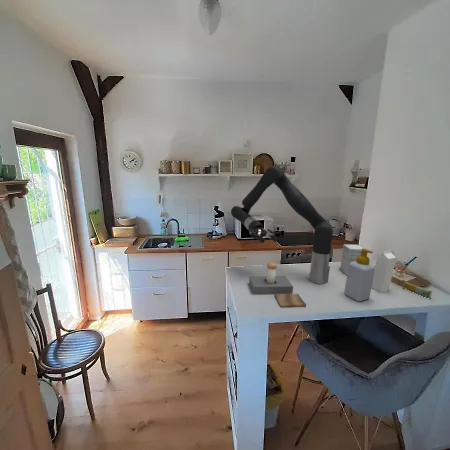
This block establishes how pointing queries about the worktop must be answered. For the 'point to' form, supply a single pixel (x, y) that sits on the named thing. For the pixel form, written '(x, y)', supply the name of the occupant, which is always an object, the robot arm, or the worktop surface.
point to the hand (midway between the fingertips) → (270, 241)
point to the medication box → (418, 290)
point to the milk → (383, 271)
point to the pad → (289, 300)
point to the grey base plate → (270, 285)
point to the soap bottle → (360, 277)
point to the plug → (271, 272)
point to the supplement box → (349, 256)
